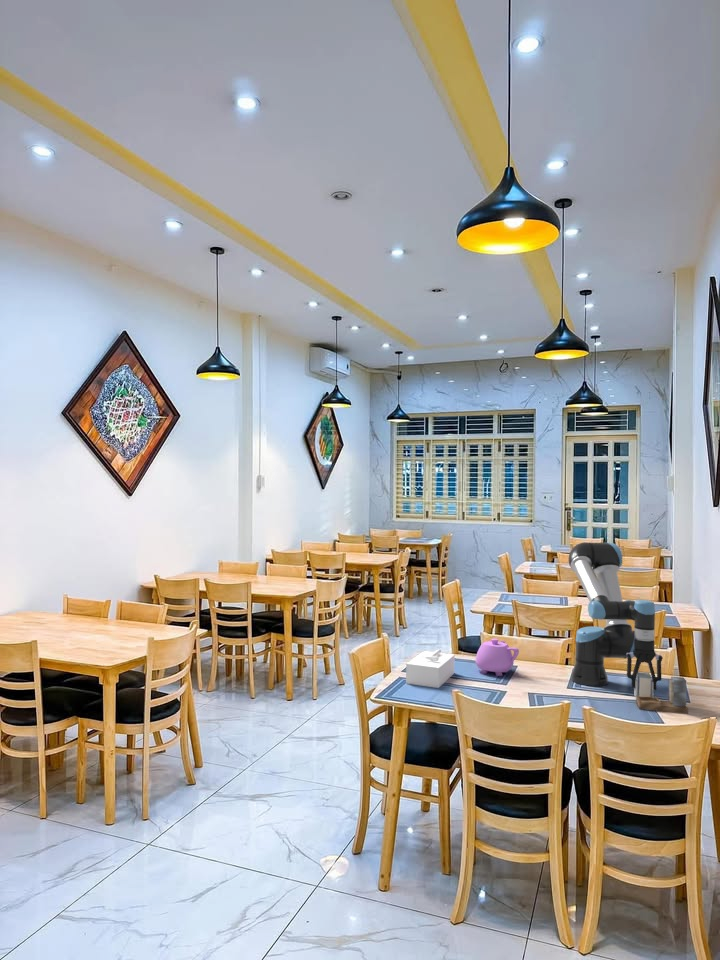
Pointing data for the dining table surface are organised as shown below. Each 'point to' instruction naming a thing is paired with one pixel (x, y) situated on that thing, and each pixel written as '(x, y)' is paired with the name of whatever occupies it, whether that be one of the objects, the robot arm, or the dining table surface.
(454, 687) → the dining table surface
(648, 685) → the light grey block
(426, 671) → the tissue box
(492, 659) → the teapot
